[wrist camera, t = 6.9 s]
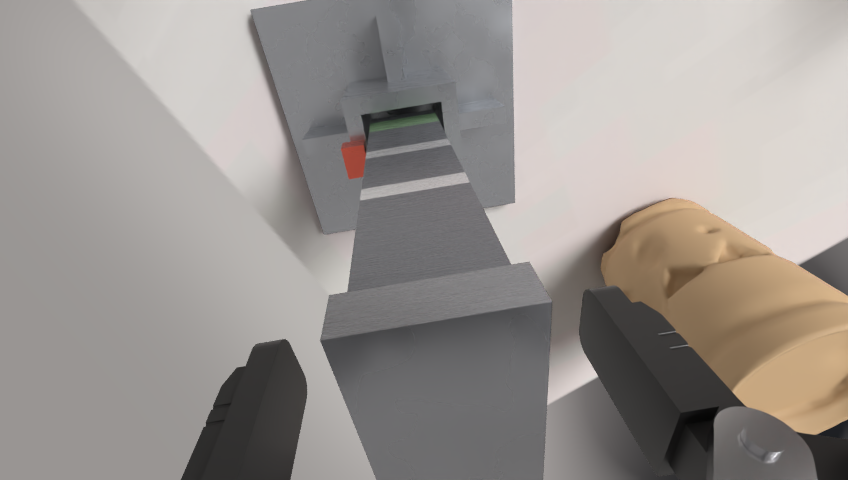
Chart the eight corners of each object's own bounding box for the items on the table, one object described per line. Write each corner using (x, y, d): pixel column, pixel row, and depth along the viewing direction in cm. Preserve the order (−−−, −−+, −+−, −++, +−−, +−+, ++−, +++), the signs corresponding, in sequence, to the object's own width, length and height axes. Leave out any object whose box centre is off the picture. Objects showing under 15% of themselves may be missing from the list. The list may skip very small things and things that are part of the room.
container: (666, 173, 36) (876, 292, 21) (730, 236, 41) (940, 372, 25) (569, 263, 41) (681, 415, 25) (636, 311, 45) (766, 464, 30)
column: (367, 103, 23) (320, 340, 6) (431, 92, 23) (552, 301, 6) (386, 191, 26) (387, 506, 10) (442, 182, 26) (543, 480, 10)
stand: (254, 9, 26) (199, 8, 19) (507, -33, 26) (558, -52, 19) (325, 229, 36) (308, 290, 28) (511, 198, 36) (547, 250, 28)
